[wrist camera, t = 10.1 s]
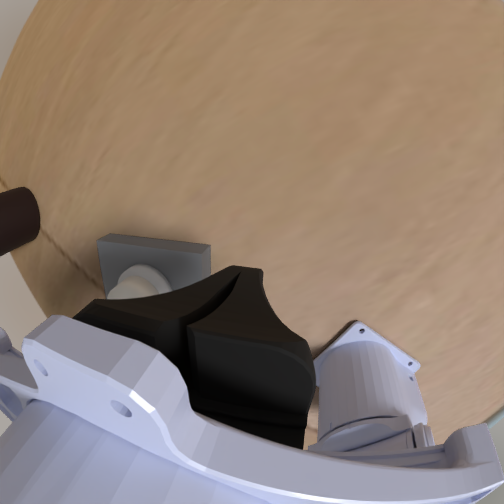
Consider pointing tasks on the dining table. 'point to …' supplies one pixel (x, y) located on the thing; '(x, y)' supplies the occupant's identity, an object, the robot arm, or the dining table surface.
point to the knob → (132, 289)
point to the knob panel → (152, 261)
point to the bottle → (17, 219)
